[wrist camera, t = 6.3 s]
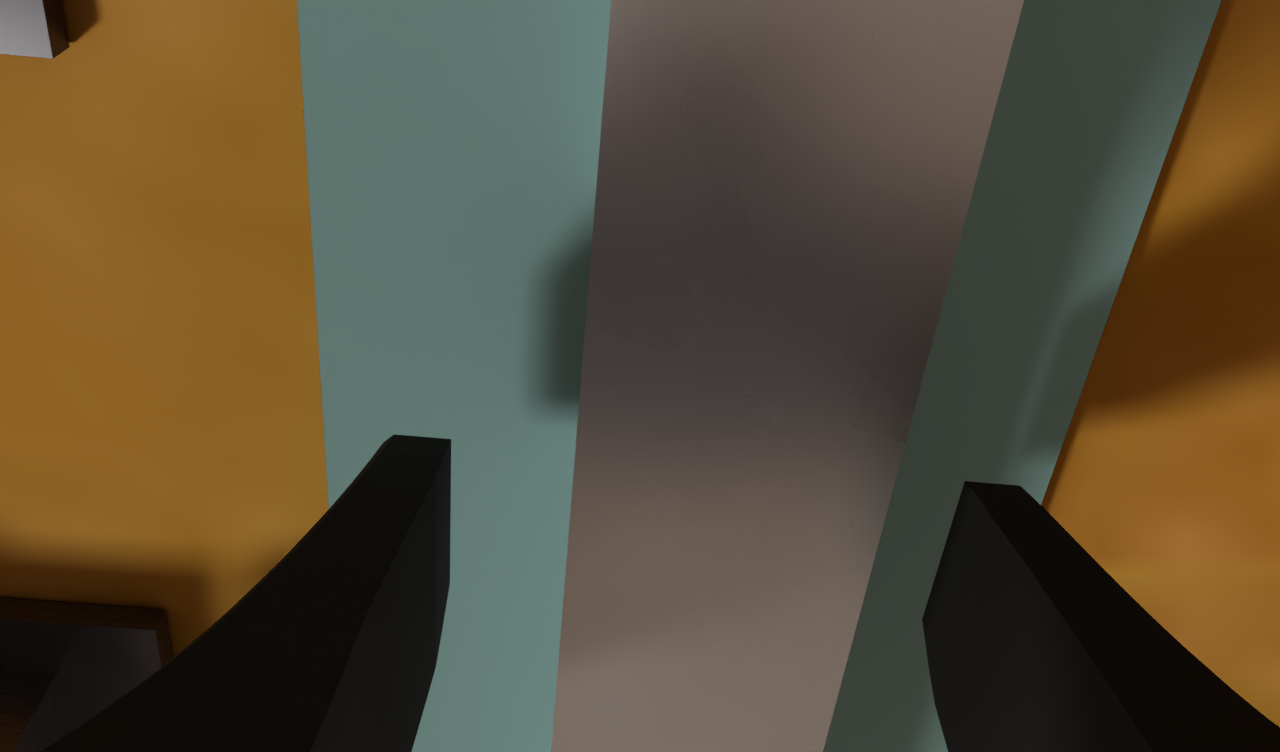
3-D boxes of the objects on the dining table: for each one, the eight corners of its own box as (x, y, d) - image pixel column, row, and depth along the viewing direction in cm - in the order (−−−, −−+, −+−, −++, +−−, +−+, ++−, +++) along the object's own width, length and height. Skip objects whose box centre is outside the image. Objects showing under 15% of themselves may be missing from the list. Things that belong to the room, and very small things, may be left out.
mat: (871, 948, 21) (874, 969, 20) (360, 914, 20) (356, 936, 20) (1452, -720, 9) (1483, -735, 8) (257, -875, 8) (240, -898, 8)
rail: (713, 888, 19) (724, 1118, 16) (543, 878, 19) (522, 1107, 16) (997, -448, 9) (1154, -487, 6) (654, -489, 9) (656, -548, 6)
